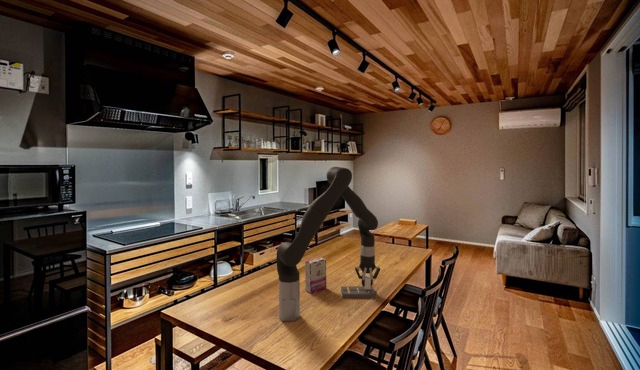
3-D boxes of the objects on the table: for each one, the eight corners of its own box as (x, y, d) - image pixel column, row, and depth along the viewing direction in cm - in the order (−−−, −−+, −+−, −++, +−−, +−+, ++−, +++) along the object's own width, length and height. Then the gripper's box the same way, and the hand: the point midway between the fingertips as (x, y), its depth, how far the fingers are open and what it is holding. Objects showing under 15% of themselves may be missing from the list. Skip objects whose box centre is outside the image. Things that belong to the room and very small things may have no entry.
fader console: (375, 297, 169) (375, 293, 169) (342, 297, 169) (342, 293, 168) (372, 289, 179) (372, 286, 179) (340, 290, 178) (340, 286, 178)
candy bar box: (320, 285, 185) (320, 256, 183) (326, 288, 181) (326, 258, 179) (304, 290, 178) (304, 260, 176) (310, 293, 174) (310, 263, 172)
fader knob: (370, 290, 172) (370, 278, 171) (364, 291, 172) (364, 278, 171) (369, 287, 176) (369, 275, 175) (363, 287, 176) (363, 275, 175)
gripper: (354, 256, 168) (354, 289, 170) (382, 255, 168) (382, 288, 170) (353, 251, 176) (352, 283, 177) (379, 251, 176) (379, 283, 177)
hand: (367, 286), depth 173 cm, fingers closed on fader knob, 3 cm apart
